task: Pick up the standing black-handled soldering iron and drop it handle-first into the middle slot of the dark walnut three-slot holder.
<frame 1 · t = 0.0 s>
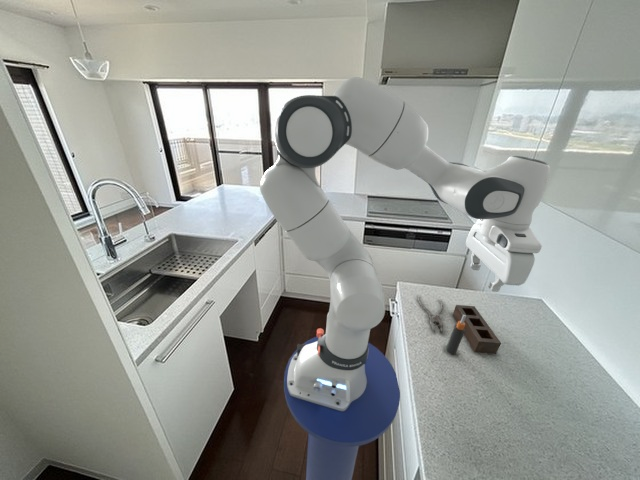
hand: (483, 278, 65), 31 cm above the worktop, tool pointing down, fingers open, 8 cm apart
holder: (472, 332, 91), on the worktop
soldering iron: (451, 350, 83), on the worktop
pliers: (436, 314, 99), on the worktop
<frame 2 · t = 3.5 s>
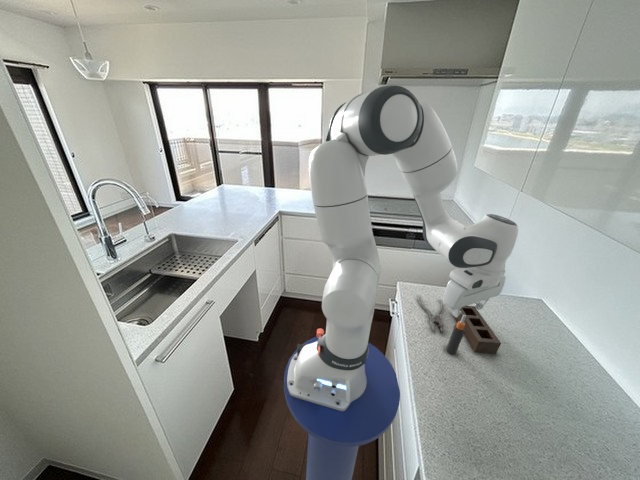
hand: (467, 311, 76), 17 cm above the worktop, tool pointing down, fingers open, 8 cm apart
nothing on the worktop moved.
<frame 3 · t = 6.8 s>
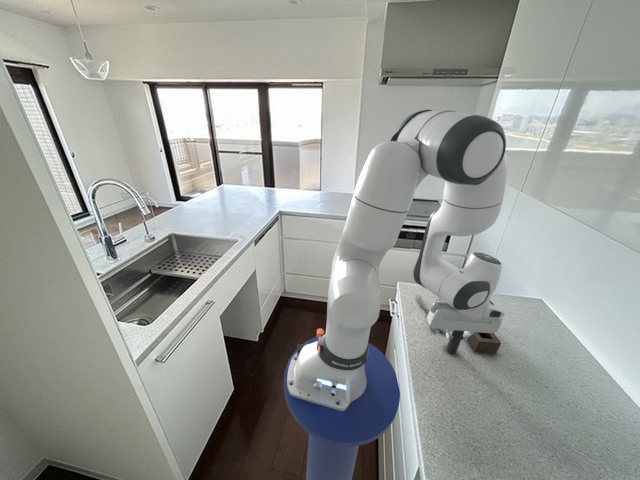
hand: (455, 338, 81), 6 cm above the worktop, tool pointing down, fingers closed on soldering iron, 3 cm apart
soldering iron: (451, 350, 83), on the worktop, touching gripper
everything else where it was.
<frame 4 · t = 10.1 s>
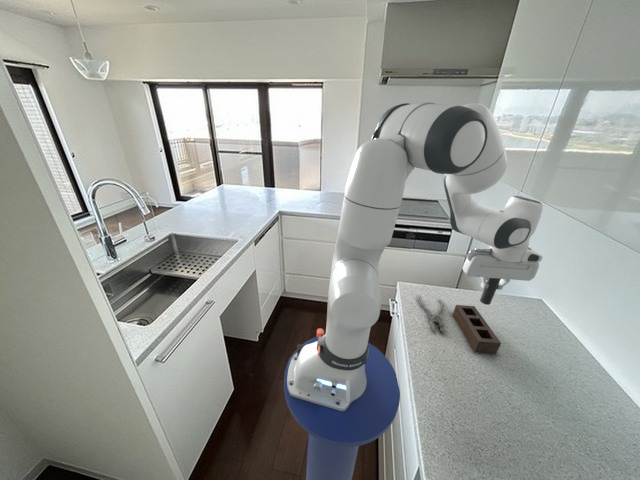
hand: (490, 288, 82), 20 cm above the worktop, tool pointing down, fingers closed on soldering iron, 3 cm apart
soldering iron: (485, 301, 84), point 14 cm above the worktop, touching gripper
everything else where it was.
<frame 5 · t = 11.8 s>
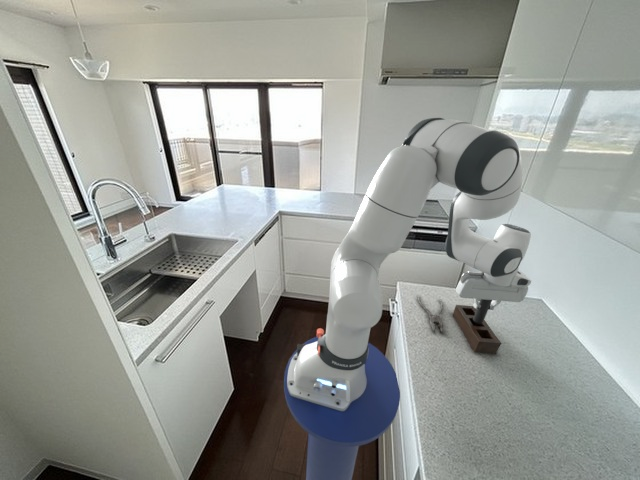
hand: (483, 308, 86), 11 cm above the worktop, tool pointing down, fingers closed on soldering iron, 3 cm apart
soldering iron: (477, 320, 88), point 6 cm above the worktop, touching gripper
everything else where it was.
when the fingers open (5 cm above the worktop, at t = 13.6 s): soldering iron stays where it is, resting in holder.
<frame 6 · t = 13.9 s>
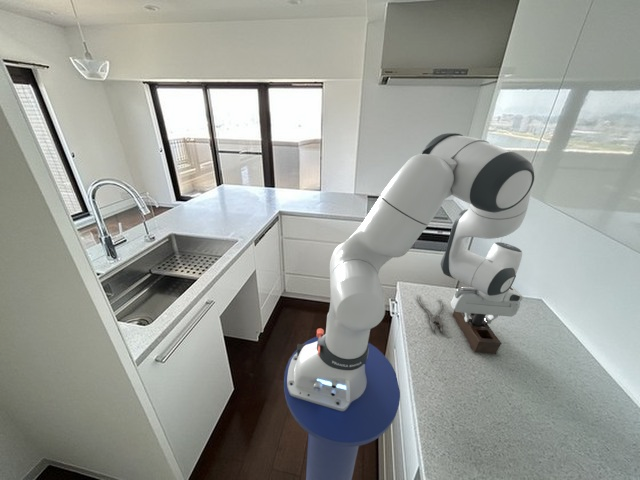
hand: (476, 321, 89), 5 cm above the worktop, tool pointing down, fingers open, 5 cm apart
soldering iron: (472, 333, 91), resting in holder
everything else where it was.
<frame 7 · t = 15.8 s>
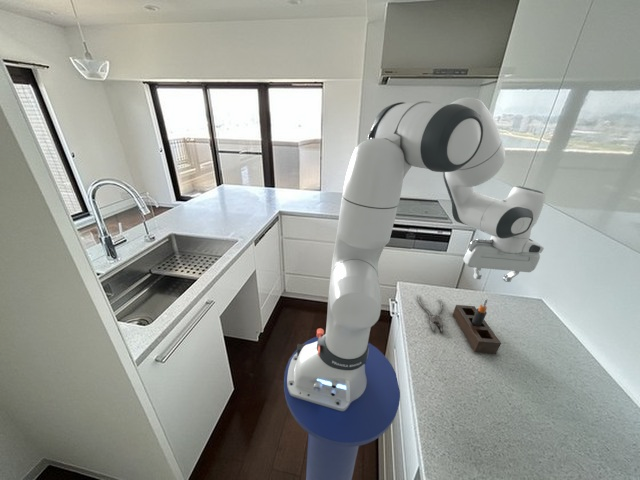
hand: (491, 279, 82), 22 cm above the worktop, tool pointing down, fingers open, 8 cm apart
nothing on the worktop moved.
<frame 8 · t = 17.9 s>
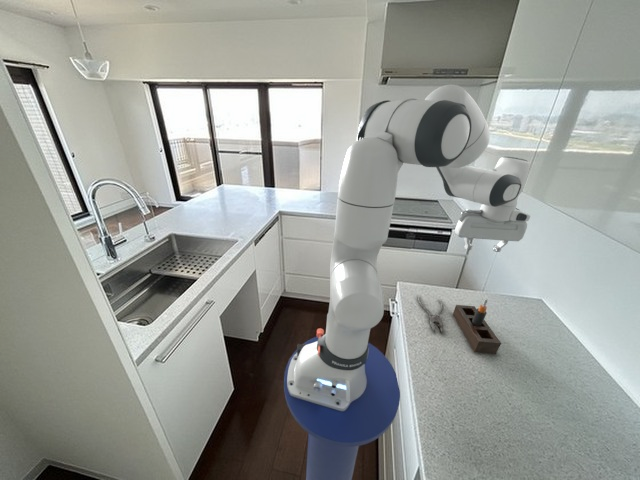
hand: (481, 250, 86), 29 cm above the worktop, tool pointing down, fingers open, 8 cm apart
nothing on the worktop moved.
at the end: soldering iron 0.1 cm off-centre in the holder, point 0.0 cm above the holder's base; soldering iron tilted 0°; the gripper is holding nothing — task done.
